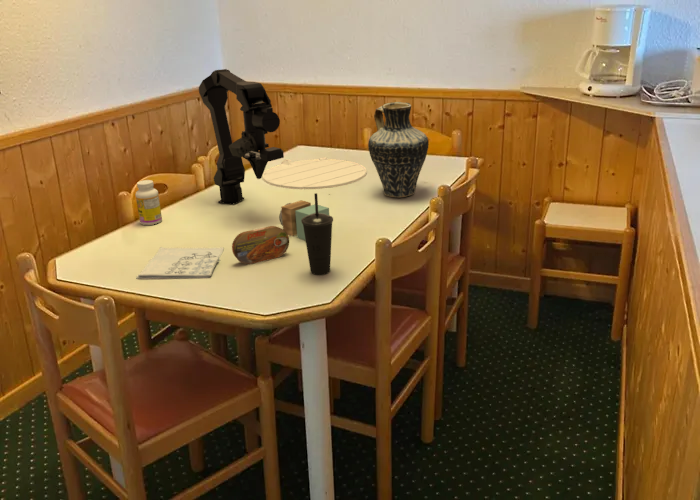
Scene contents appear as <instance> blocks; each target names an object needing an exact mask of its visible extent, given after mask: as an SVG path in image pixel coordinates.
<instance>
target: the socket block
mask: <svg viewBox="0 0 700 500" xmlns="http://www.w3.org/2000/svg"><path fill="white" fill-rule="evenodd" d="M295 212H296V226H297V235H296V238H297V239H300V240H303V241H305V242H306V240H305V234H304V228H303V224H302V222H301V220H302V218H304V217H306V216H308V215H310V214H314V213H316V212H315V203H314V204H312V205H311V206H308V207H305V208H302V209H299V210H296V211H295ZM318 213H323V214H326V215H329V216H330V208H329V207H327V206H324V205H320V204H318Z"/></svg>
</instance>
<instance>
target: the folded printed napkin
mask: <svg viewBox="0 0 700 500" xmlns="http://www.w3.org/2000/svg"><path fill="white" fill-rule="evenodd" d="M224 250H225V248H224V247H222V246H221V247H220V246H219V247H216V246H214V247H162V246H161V247H159V248H158V250H157V252H156V253H155V254H154V255H153V257H151V258H150V259H149V260H148V262H147V263H146V264H145V266H144V267H143V269H142V270H141V271H140V272H139V273H138V274H137V275H136V277H135V279H136V280H142V279H143V280H145V279H146V280H148V279H151V280H153V279H155V280H156V279H203V278H204V279H205V278H207V279H208V278H210V277H211V276H212V275H213V271H214V270H215V266H216V265H217V264H218V263H219V262H220V261H221V259H220V258H221V256H222V254H223V253H224Z"/></svg>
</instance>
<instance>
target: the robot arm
mask: <svg viewBox="0 0 700 500" xmlns="http://www.w3.org/2000/svg"><path fill="white" fill-rule="evenodd" d="M229 91H230V92H231V93H232V94H235V95H236V101H238V102H239V103H240V104H241V107H240V108H239V109H240V110H239V111H242V112H243V114H242V115H243V125H244V126H243V127H244V130H243V131H241V133H240V134H241V137H240V138H239V139H236V140H234V142H233V139H232V135H231V129H230V126H229V120H228V115H227V112H226V111H227V110H226V105H227V102H228V99H229V96H228V92H229ZM198 92H199V93H198V94H199V96H200V97H201V100H202V103H203V104H204V106H205V107H206V108H207V109H208V110H209V113H210V118H211V122H212V126H213V131H214V135H215V141H216V145H217V149H218V150H217V151H218V154H219V156H218V159H217V161H216V169H217V170H216V171H215V174H214V175H213V181H214V185H216V186H218V187H219V194H220V195H219V196H220V200H218V201H217V202H218V204H224V205H225V204H227V205H236V204H239V203H240V202H242V201H243V200H245V197H243V189H242V187H241V183H245V175H246V169H245V166H244V164H243V163H244V162H243V159H244V160H246V161H247V162H248V163H249V164H250V166H251V168H252V171H253V174H254V175H255V178H256V179H257V180H260V179H262V175H263V172H265V171H266V166H267V165H268V162H273V161H277V160H280V159H284V157H285V156H284V155H285V153H284V150H283V148H279V147H275V146H272V147H270V145H269V143H268V142H267V143H266V135H267V134H268V133H275V132H276V131H277V130H278V129H279V127H280V124H281V123H280V122H281V120H280V117H279V116H278V114H277V113H276V112H274V110H273V107H272V103H271V102H272V101H271V99H270V97H269V95H268V94H267V91H266V89H265V86H263V84H261V83H260V82H256V81H246V80H245V79H243V78H241V77H239V76H238V75H236V74H234V73H233V72H231V71H230V70H229V69H227V68H224V69H223V68H222V69H215V70H213V71H212V72H211V74H210V75H209V76H207V77H205V78H204V79H203V80H202V81H201V83H200V84H199V87H198Z"/></svg>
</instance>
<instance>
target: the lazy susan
mask: <svg viewBox="0 0 700 500" xmlns="http://www.w3.org/2000/svg"><path fill="white" fill-rule="evenodd" d="M366 176H367V168H366V167H365V166H364V165H362V164H361V163H357V162H354V161H350V160H343V159H331V158H330V159H328V157H325V156H324V157H321V158H318V159H314V158H313V159H302V160H295V161H294V160H293V161H292V160H291V159H290V158H289V159H288V158H287V159H283V160H282V161H281V162H280V164H278V165H274V166H272V167H269V168H268V169H265V170H264V172H263V175H262V177H261V179H262V181H264V182H265V183H266V184H268V185H270V186H274V187H276V188H283V189H284V188H285V189H293V190H322V189H331V188H337V187H342V186H347V185H350V184H354V183H356V182H359V181H360V180H362V179H364V178H365V177H366Z"/></svg>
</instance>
